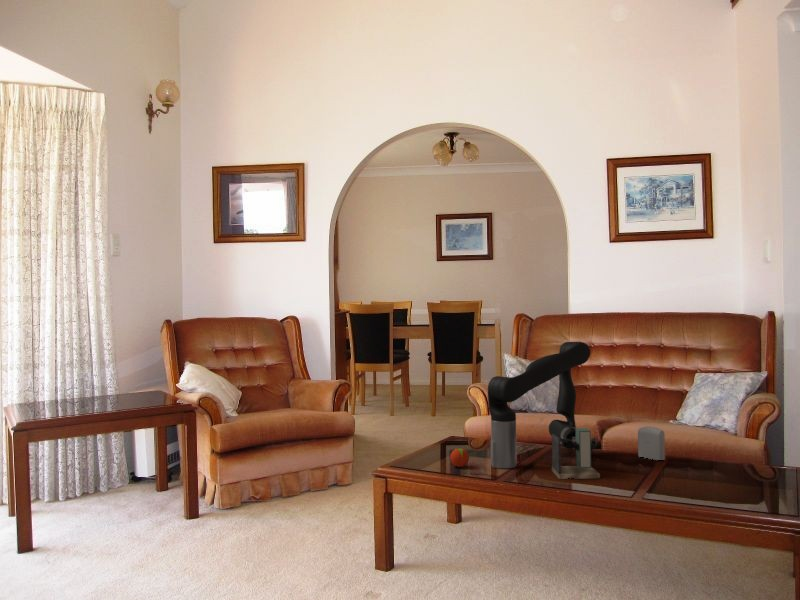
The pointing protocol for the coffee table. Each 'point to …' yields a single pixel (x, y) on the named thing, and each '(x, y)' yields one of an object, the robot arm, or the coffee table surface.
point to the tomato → (459, 457)
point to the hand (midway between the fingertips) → (585, 447)
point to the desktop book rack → (568, 471)
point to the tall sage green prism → (583, 448)
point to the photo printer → (651, 443)
